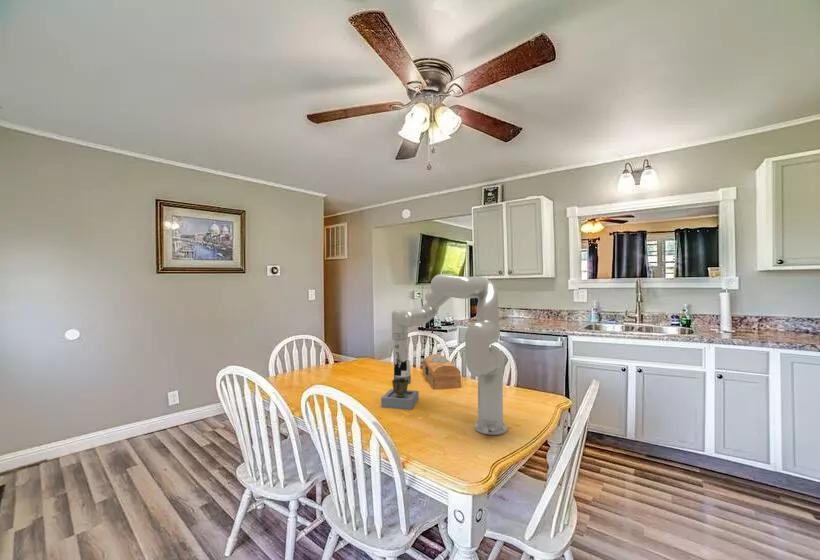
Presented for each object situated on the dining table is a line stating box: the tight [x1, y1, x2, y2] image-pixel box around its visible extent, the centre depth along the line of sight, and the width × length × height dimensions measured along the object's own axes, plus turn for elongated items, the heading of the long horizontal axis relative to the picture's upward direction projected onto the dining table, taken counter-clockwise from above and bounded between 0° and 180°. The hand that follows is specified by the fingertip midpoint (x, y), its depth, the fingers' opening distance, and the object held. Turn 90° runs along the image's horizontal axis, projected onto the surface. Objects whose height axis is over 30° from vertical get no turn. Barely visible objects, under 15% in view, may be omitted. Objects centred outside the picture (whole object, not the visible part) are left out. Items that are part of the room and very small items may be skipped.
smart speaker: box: [393, 360, 412, 385], centre depth 205 cm, size 10×9×14 cm
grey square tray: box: [380, 388, 420, 411], centre depth 173 cm, size 14×14×5 cm
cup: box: [391, 378, 409, 398], centre depth 173 cm, size 8×7×8 cm
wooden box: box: [422, 353, 462, 390], centre depth 208 cm, size 30×16×14 cm, turn 8°
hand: (400, 373), depth 173 cm, fingers open, 9 cm apart
